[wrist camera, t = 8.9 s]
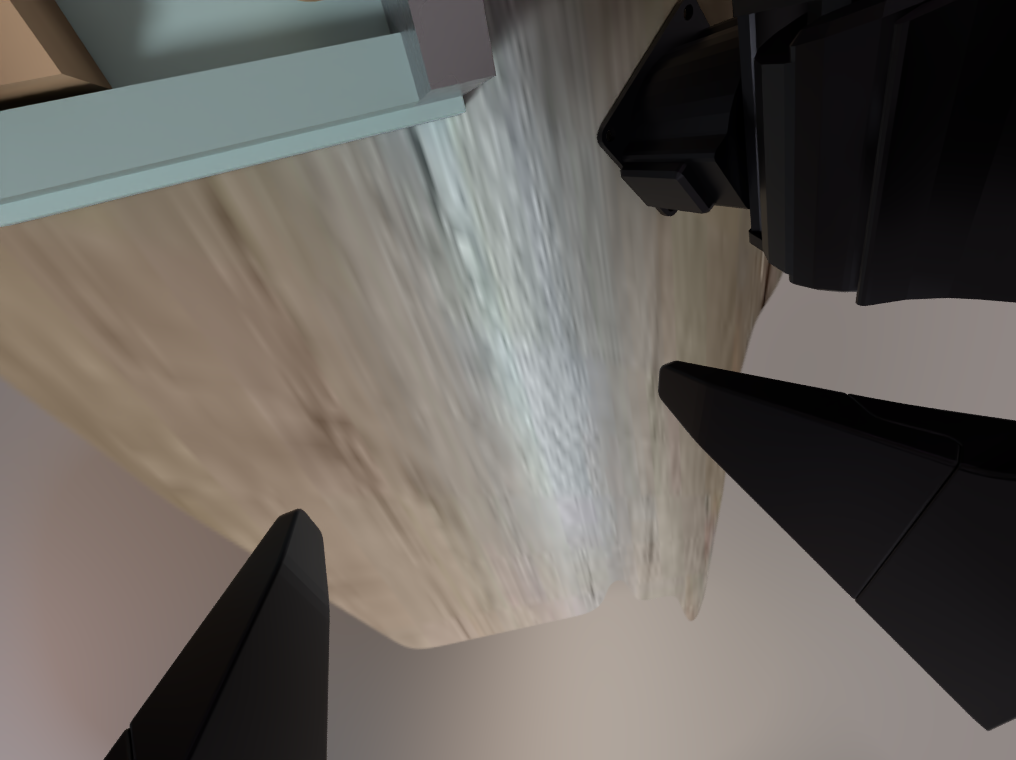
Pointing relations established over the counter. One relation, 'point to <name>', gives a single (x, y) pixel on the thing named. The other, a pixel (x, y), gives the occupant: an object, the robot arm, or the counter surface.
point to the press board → (215, 47)
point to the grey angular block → (443, 45)
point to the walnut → (309, 0)
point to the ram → (42, 56)
